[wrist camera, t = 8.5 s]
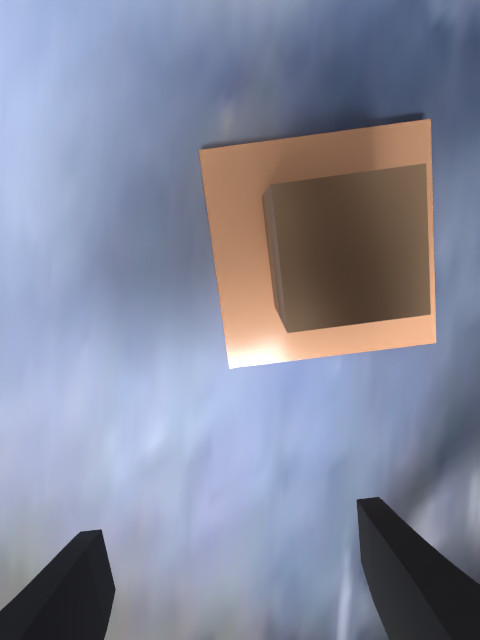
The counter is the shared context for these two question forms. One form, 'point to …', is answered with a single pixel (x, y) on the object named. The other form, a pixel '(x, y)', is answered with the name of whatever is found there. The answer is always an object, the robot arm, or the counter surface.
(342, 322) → the cube
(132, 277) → the counter surface
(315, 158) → the plate
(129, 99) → the counter surface
